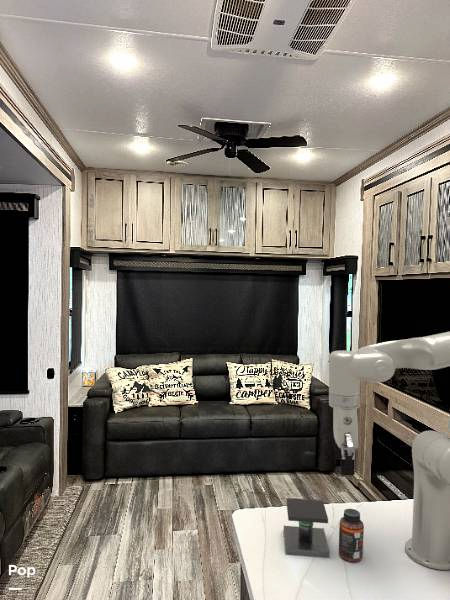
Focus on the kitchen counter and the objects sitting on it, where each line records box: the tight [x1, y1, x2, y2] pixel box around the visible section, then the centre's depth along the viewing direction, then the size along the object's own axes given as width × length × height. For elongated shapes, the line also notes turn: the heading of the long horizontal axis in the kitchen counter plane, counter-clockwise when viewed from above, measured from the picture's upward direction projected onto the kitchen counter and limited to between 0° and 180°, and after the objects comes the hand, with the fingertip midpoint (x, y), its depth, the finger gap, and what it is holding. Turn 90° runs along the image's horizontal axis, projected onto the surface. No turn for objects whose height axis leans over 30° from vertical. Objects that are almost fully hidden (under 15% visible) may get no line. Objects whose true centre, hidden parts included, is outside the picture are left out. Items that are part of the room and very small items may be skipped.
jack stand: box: [283, 498, 331, 559], centre depth 117 cm, size 11×11×10 cm
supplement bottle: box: [338, 508, 365, 563], centre depth 112 cm, size 6×6×11 cm
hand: (344, 466), depth 113 cm, fingers open, 9 cm apart
